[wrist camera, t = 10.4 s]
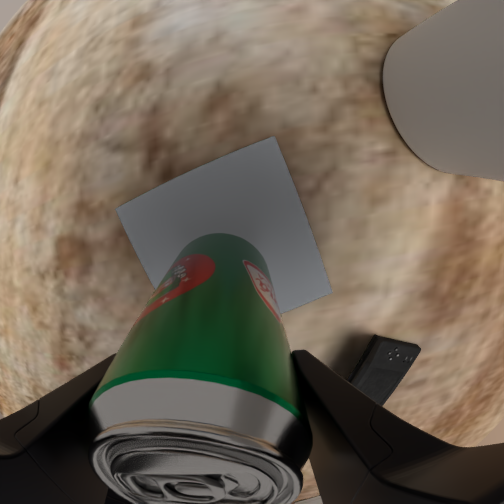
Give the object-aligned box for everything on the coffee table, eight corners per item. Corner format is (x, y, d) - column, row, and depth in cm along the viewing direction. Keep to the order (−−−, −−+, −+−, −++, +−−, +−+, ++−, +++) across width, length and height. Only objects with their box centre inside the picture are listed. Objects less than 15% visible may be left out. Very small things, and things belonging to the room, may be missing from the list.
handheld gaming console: (385, 427, 26) (362, 484, 17) (330, 407, 30) (291, 455, 21) (425, 336, 24) (422, 377, 16) (360, 317, 28) (329, 347, 20)
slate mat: (189, 342, 23) (188, 346, 22) (118, 207, 20) (115, 208, 19) (330, 289, 22) (332, 292, 21) (273, 136, 19) (274, 135, 18)
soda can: (270, 315, 16) (312, 521, 5) (182, 320, 16) (124, 517, 5) (266, 226, 15) (340, 404, 3) (168, 234, 15) (25, 395, 3)
